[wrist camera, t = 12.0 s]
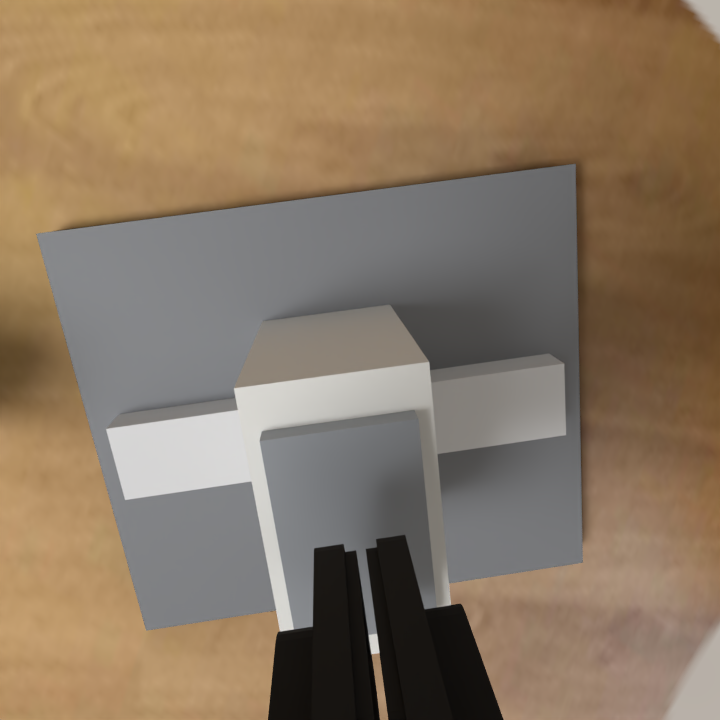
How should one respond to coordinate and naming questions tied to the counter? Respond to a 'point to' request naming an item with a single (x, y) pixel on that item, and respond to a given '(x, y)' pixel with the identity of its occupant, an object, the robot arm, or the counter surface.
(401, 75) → the counter surface
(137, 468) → the mounting board
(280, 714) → the robot arm
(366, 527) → the block
